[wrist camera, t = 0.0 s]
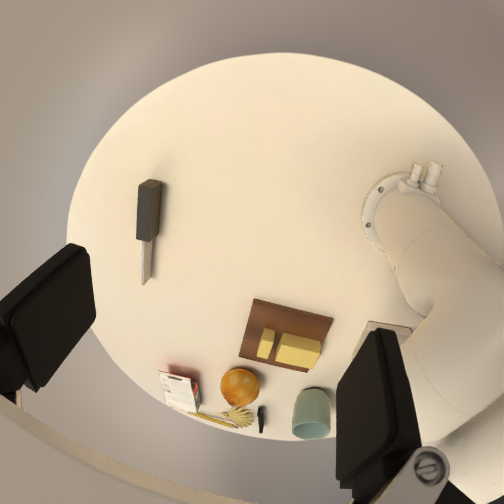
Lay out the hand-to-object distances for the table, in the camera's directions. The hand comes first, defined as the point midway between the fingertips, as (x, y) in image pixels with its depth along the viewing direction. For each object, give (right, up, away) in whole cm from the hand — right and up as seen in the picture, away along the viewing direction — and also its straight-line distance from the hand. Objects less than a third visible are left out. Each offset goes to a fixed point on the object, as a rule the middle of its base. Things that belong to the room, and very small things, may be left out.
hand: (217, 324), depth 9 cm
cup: (+15, -29, +54) cm, 62 cm away
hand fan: (-3, -39, +60) cm, 71 cm away
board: (+7, -13, +47) cm, 49 cm away
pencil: (-9, -40, +62) cm, 75 cm away
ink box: (-16, -36, +61) cm, 72 cm away
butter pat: (+4, -13, +46) cm, 48 cm away
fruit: (-1, -24, +54) cm, 59 cm away
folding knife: (+3, -37, +60) cm, 71 cm away
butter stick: (+10, -15, +45) cm, 49 cm away
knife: (-15, +6, +41) cm, 44 cm away
